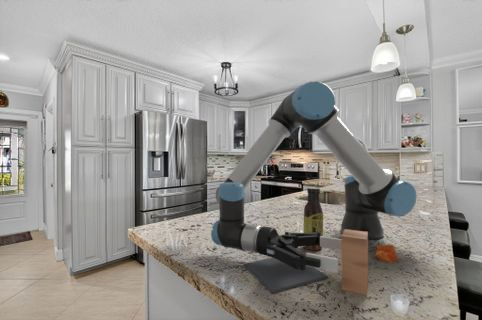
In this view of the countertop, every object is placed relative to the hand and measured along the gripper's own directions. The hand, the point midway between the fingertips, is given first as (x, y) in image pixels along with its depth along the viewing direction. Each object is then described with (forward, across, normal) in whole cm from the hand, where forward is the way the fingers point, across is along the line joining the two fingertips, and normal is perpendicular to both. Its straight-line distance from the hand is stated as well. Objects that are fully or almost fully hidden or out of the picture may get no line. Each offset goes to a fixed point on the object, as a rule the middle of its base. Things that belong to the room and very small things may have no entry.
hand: (342, 254), depth 55 cm
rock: (+9, -22, -8) cm, 25 cm away
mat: (-14, +1, -7) cm, 16 cm away
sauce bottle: (-12, -20, -7) cm, 24 cm away
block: (+3, 0, -7) cm, 7 cm away
